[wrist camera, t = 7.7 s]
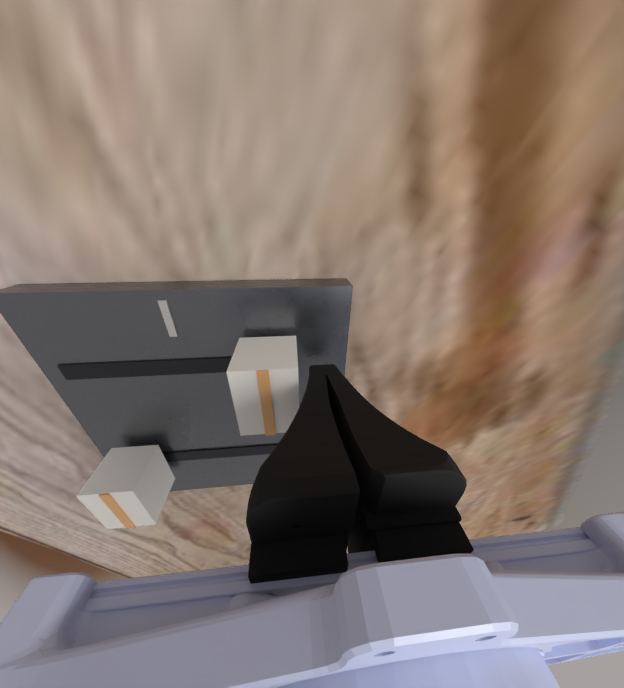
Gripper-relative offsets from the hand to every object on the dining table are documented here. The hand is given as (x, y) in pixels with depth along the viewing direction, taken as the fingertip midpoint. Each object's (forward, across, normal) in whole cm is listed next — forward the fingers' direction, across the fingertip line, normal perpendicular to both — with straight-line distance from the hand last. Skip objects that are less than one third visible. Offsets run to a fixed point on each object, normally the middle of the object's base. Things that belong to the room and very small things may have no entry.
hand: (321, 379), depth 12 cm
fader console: (+3, +7, +4) cm, 9 cm away
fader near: (+1, +3, 0) cm, 3 cm away
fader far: (+1, +12, +8) cm, 15 cm away
